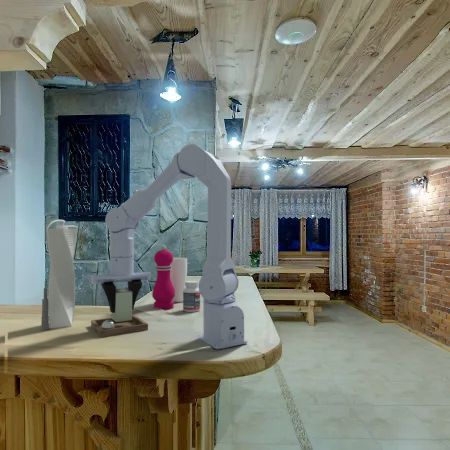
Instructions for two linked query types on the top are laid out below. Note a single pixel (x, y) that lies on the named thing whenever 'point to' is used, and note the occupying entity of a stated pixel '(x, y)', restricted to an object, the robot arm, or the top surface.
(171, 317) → the top surface
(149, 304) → the top surface
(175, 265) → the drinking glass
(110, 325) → the steel ball
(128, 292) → the spice tin
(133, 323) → the tray
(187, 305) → the pill bottle
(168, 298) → the pepper mill
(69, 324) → the skyscraper
